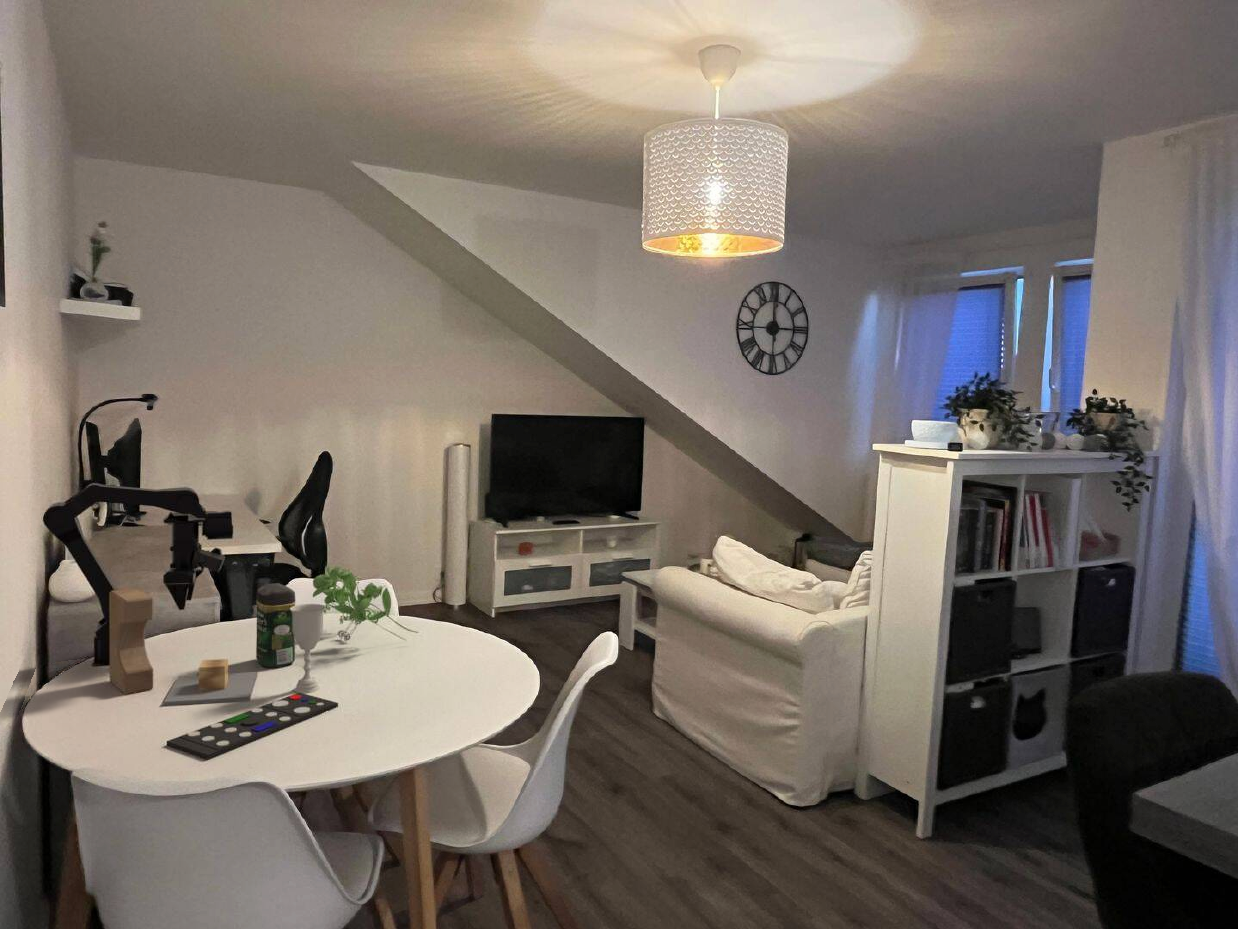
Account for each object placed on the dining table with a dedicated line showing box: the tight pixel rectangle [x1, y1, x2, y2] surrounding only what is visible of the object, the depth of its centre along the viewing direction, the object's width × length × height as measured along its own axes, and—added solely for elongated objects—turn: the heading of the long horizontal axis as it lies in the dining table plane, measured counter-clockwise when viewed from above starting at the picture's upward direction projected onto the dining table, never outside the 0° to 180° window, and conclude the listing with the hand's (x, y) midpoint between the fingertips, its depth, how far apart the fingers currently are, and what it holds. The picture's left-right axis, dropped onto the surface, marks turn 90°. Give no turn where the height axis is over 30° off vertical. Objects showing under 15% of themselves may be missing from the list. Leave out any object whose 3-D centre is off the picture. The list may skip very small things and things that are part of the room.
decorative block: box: [109, 587, 154, 695], centre depth 181 cm, size 11×6×20 cm, turn 45°
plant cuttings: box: [312, 565, 419, 643], centre depth 223 cm, size 35×17×22 cm
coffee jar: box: [255, 582, 296, 668], centre depth 200 cm, size 10×8×19 cm
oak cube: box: [198, 658, 229, 691], centre depth 182 cm, size 5×5×5 cm
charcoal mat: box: [163, 671, 258, 707], centre depth 182 cm, size 16×16×1 cm
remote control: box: [166, 692, 339, 761], centre depth 164 cm, size 11×30×2 cm, turn 153°
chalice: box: [290, 603, 326, 694], centre depth 184 cm, size 7×7×18 cm
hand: (185, 605), depth 203 cm, fingers open, 9 cm apart
